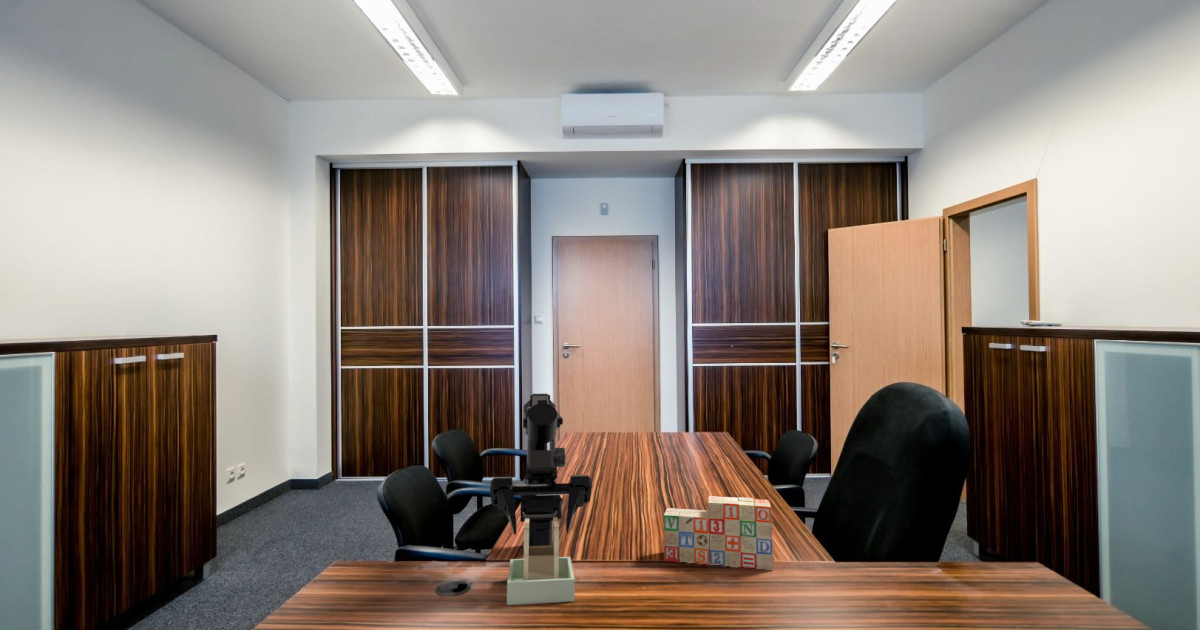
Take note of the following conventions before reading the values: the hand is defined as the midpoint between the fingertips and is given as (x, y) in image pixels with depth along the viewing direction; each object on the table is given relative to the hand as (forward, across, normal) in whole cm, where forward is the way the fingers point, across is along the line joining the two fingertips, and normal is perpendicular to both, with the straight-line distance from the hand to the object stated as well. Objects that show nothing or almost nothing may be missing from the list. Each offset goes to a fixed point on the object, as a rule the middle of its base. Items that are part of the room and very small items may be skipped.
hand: (541, 532), depth 91 cm
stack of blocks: (-1, +36, +16) cm, 39 cm away
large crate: (+6, 0, +8) cm, 10 cm away
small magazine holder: (+6, 0, +8) cm, 10 cm away
